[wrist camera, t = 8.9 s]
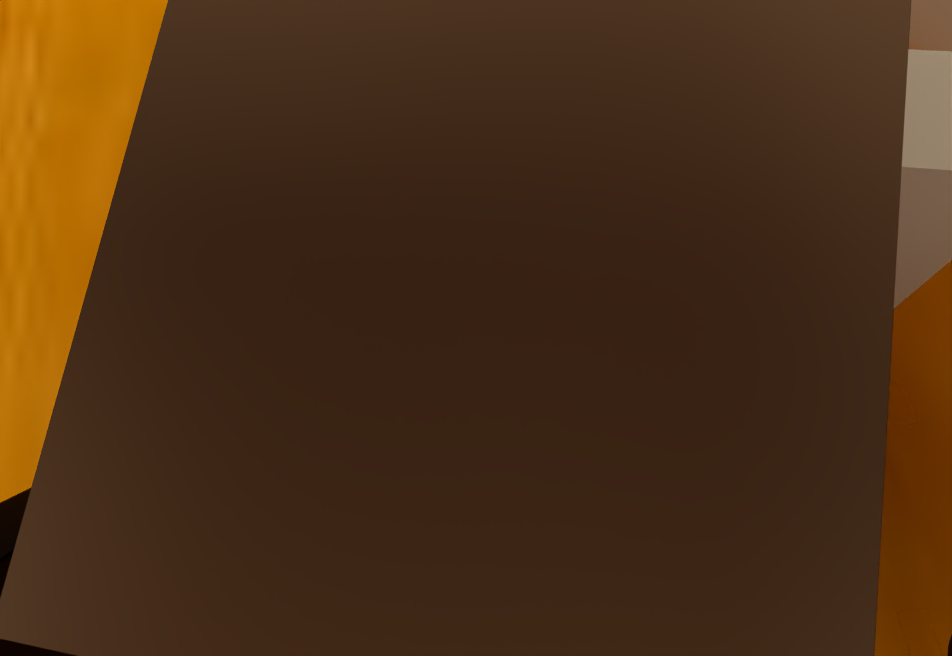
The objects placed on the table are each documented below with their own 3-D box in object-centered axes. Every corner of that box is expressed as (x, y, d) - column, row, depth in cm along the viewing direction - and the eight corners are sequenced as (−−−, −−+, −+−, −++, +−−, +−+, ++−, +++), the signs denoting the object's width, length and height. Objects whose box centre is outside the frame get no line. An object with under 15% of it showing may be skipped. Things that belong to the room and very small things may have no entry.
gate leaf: (318, 276, 19) (149, 117, 12) (336, 192, 19) (182, -8, 12) (872, 336, 17) (1057, 185, 10) (877, 240, 17) (1057, 32, 10)
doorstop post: (670, 616, 16) (873, 842, 4) (441, 574, 17) (-22, 645, 5) (695, 385, 17) (924, -49, 5) (478, 356, 18) (182, -78, 6)
